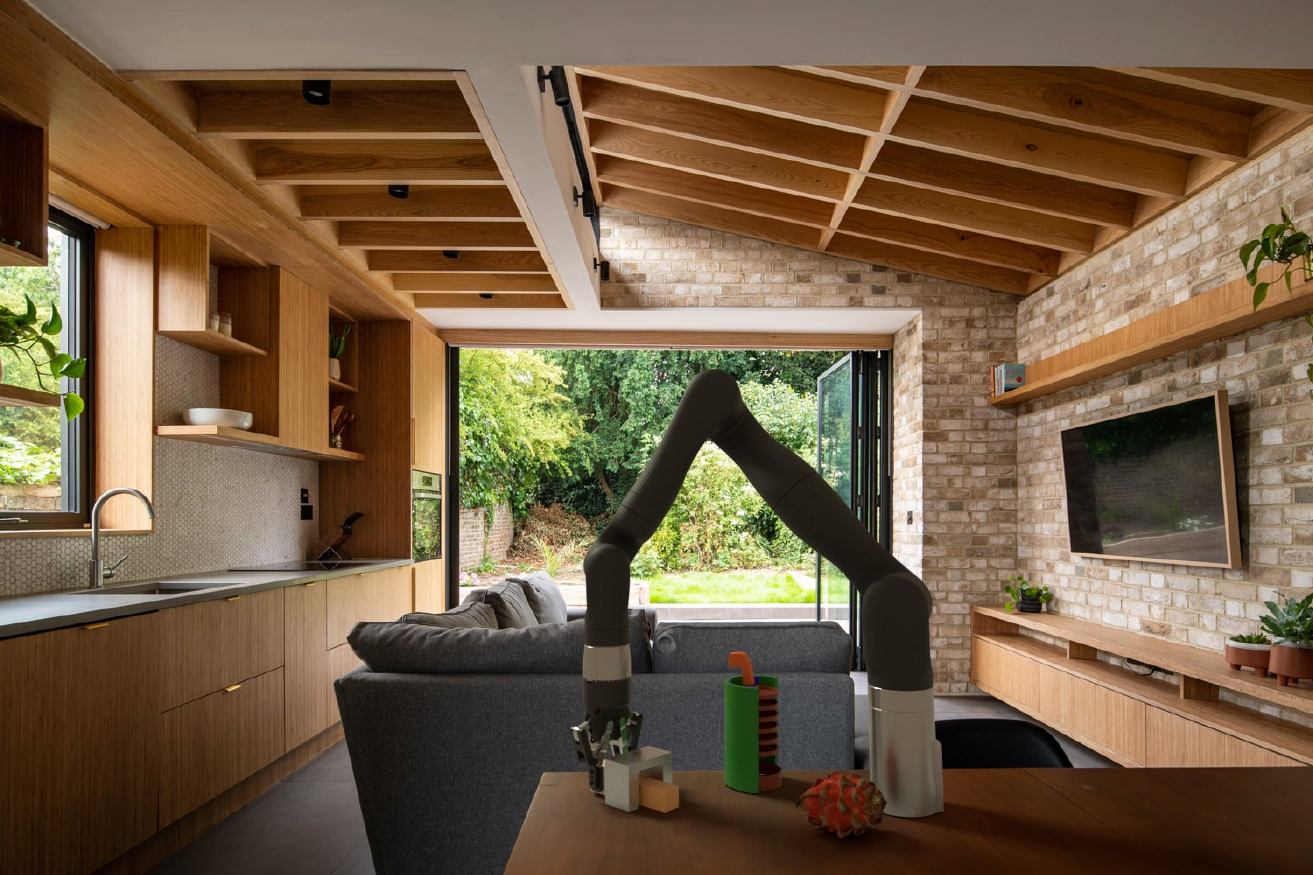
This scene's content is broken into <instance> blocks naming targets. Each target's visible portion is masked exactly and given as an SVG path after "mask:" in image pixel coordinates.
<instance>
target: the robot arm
mask: <svg viewBox="0 0 1313 875" xmlns="http://www.w3.org/2000/svg"><path fill="white" fill-rule="evenodd" d="M687 384H688V385H686V387H685V390H684V393H683V394H682V396H681V399H680V401H679V403H678V406H677V407H676V411H675V412H674V415H673V417H672V418H671V420H670V423H669V425H668V427H667V429H666V430H665V432H664V435H663V436H662V438H661V440H660V442H659V444H658V445H657V446H656V448H655V450H654V453H653V454H652V456H651V457H650V459H649V460H648V461H647V464H646V465H645V467H644V468H643V470H642V471H641V473H640V474H639V476H638V478H637V479H636V480H635V481H634V484H633V485H632V487H631V488H630V489H629V491H628V492H627V494H626V495H625V497H624V498H623V500H622V502H621V503H620V504H619V506H618V508H617V510H616V512H614V515H613V517H612V519H611V520H610V522H609V523H608V524H607V525H606V526H605V528H604V529H603V530H602V532H601V533H600V534H599V535H598V536H597V538H596V540H595V541H594V542H593V544H592V545H591V546H590V548H589V549H588V551H587V552H586V554H585V556H584V558H583V564H582V568H583V569H582V570H583V574H584V576H585V596H586V600H585V601H586V610H585V614H584V620H583V621H584V624H583V626H584V628H583V629H584V632H583V633H584V634H583V635H584V637H583V638H584V640H583V642H584V645H583V656H582V703H583V705H584V707H585V711H586V712H585V715H584V718H583V722H582V723H581V724H579V725H577V726H574V725H572V726H570V729H569V734H570V737H571V741H572V745H573V748H574V752H575V755H576V759H577V763H579V764H583V765H587V766H588V785H589V788H590V790H591V789H592V790H593V791H596V792H602V791H603V790H604V775H603V768H604V767H603V766H602V765H603V760H605V753H606V752H607V751H608V749H609V744H610V748H611V753H612V757H613V756H617V755H620V754H623V753H626V752H630V751H633V750H636V749H638V745H639V744H638V743H639V740H640V735H641V730H642V724H643V721H644V720H643V719H644V714H643V713H641V712H637V711H636V712H635V711H633V710H631V709H630V707H629V706H630V705H631V703H632V698H633V697H632V694H633V693H632V655H631V648H630V647H631V646H630V616H629V604H630V592H631V590H630V589H631V573H632V572H631V564H632V562H633V561H634V559H635V558H636V556H637V555H638V553H639V552H640V550H641V548H642V546H643V545H644V544H645V543H647V542H648V541H649V540H650V539H651V538H652V537H653V535H655V533H656V532H657V530H658V529H659V527H660V525H661V523H662V522H663V521H664V519H665V517H666V516H667V515H668V513H669V512H670V510H671V508H672V506H673V505H674V504H675V502H676V499H677V497H678V496H679V493H680V491H681V489H682V487H683V485H684V482H685V479H686V478H687V475H688V473H689V471H690V468H691V466H692V464H693V462H694V460H695V459H696V457H697V456H698V453H699V452H700V450H701V448H702V447H703V446H704V444H705V443H706V442H707V440H710V441H711V442H712V443H714V444H715V446H717V447H718V448H719V449H720V450H721V451H722V452H723V453H724V454H726V456H727V457H729V458H730V459H731V461H733V462H734V463H735V465H736V466H737V467H738V468H739V469H740V470H741V472H742V473H743V475H744V477H746V479H747V480H748V481H749V483H750V484H751V486H752V487H753V488H754V490H755V491H756V492H757V493H758V495H759V496H760V497H761V498H762V500H763V501H764V502H765V503H766V505H767V506H768V507H769V508H770V509H771V511H772V512H773V513H774V514H775V515H776V517H778V518H779V520H780V521H782V523H783V524H784V525H785V527H786V528H788V530H789V531H791V532H792V533H793V534H794V535H795V536H796V538H798V539H799V540H801V541H802V542H803V543H804V544H805V545H807V546H808V547H809V548H811V549H812V550H813V551H815V552H816V553H817V554H819V555H820V556H821V557H823V558H824V559H826V560H827V561H828V562H829V563H830V564H832V565H833V566H834V567H835V568H837V569H838V570H839V571H840V572H841V573H842V574H843V575H844V576H845V577H846V579H847V580H848V581H849V582H850V583H851V584H852V585H853V587H854V589H856V591H857V592H858V593H859V594H860V596H861V597H862V598H863V599H862V607H861V608H862V609H861V610H862V611H861V615H862V616H861V617H862V618H861V620H862V638H863V639H862V641H863V642H862V644H863V658H864V664H865V669H866V674H867V704H868V706H867V708H868V711H867V712H868V738H869V739H868V742H869V743H868V744H869V777H870V780H869V781H872V782H873V783H874V784H875V786H876V789H878V790H880V791H881V793H882V794H883V796H884V799H885V800H886V802H887V803H886V806H885V808H884V811H883V814H886V815H891V816H895V817H902V818H922V817H928V816H932V815H934V814H936V813H942V812H944V786H943V785H944V784H943V758H942V743H941V742H940V741H939V740H937V738H936V724H935V719H936V718H935V696H934V685H935V684H934V668H933V665H932V658H931V657H932V656H931V642H930V641H931V640H930V639H931V638H930V637H931V636H930V618H931V616H932V614H933V609H934V608H933V605H934V604H933V598H932V597H933V596H932V594H931V591H930V590H929V588H928V586H927V584H926V583H925V581H923V580H922V579H921V578H920V577H918V576H917V575H916V574H915V573H914V572H912V571H911V570H910V569H909V568H908V567H907V566H905V565H904V564H903V563H902V562H901V561H900V560H898V559H897V558H896V557H895V556H893V555H892V554H891V553H890V552H889V551H888V550H887V549H886V548H885V547H884V546H883V545H882V544H881V543H880V542H878V541H877V539H876V538H875V537H874V536H873V535H872V534H871V533H870V531H868V529H867V528H866V526H865V525H864V524H863V522H862V521H861V520H860V519H859V518H858V516H857V515H856V514H855V512H854V511H853V510H852V509H851V507H850V506H849V505H848V504H847V503H846V502H845V501H844V500H843V499H842V498H841V496H840V494H838V493H837V491H836V490H835V489H834V488H833V487H832V486H831V485H830V484H829V483H828V482H827V481H826V480H825V478H824V477H822V475H821V474H820V473H818V472H817V470H816V469H815V468H814V467H813V466H812V465H810V463H809V462H807V461H806V460H805V459H803V458H802V457H801V456H799V455H798V454H797V453H795V452H794V451H792V450H791V449H789V447H787V446H785V445H783V444H782V443H780V442H779V441H778V440H777V439H775V438H774V437H773V436H772V435H771V434H770V433H769V432H768V431H767V430H766V429H765V428H764V427H763V425H762V424H761V423H760V422H759V421H758V420H757V418H756V417H755V415H754V414H753V413H752V412H751V410H750V409H749V408H748V406H747V405H746V404H745V402H744V400H743V397H742V392H741V389H740V386H739V384H738V382H737V380H736V379H735V378H734V377H733V376H732V374H730V373H729V372H727V371H725V370H723V369H718V368H709V369H705V370H702V371H700V372H699V373H697V374H695V375H694V376H693V377H692V379H690V380H689V382H688V383H687ZM597 742H599V743H597ZM593 791H592V792H593ZM596 792H595V793H596Z"/></svg>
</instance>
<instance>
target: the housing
mask: <svg viewBox="0 0 1313 875" xmlns="http://www.w3.org/2000/svg"><path fill="white" fill-rule="evenodd" d="M604 760H605V795H604V804H605V805H608V806H611V807H613V808H615V809H618V810H622V811H625V812H626V813H627V812H628V813H630V812H633V811H636V810H639V809H640V805H639V775H642V776H646V777H649V778H653V779H656V780H660V781H663V782H667V783H670V784H673V751H670V750H665V749H662V748H659V747H654V746H650V745H647V746H643V747H640V748H637V749H636V750H633V751H630V752H626V753H623V754H620V755H617V756H613V755H612V756H611V757H608V758H604Z"/></svg>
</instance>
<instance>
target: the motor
mask: <svg viewBox="0 0 1313 875" xmlns="http://www.w3.org/2000/svg"><path fill="white" fill-rule="evenodd" d="M728 668H740V669H741V672H742V675H735V676H730V677H727V678H725V679H724V682H723V684H724V689H723V690H724V692H723V693H724V696H723V697H724V703H723V704H724V707H723V709H724V721H723V723H724V724H723V725H724V726H723V727H724V734H723V735H724V739H723V740H724V742H723V744H724V748H723V750H724V751H723V752H724V754H723V755H724V758H723V760H724V767H723V768H724V770H723V771H724V773H723V774H724V775H723V776H724V779H723V780H724V781H725V783H726V784H727V785H728V786H729V787H732V788H735V789H737V790H740V791H744V792H749V793H748V794H751V793H759V792H769V791H768V790H770V791H774V790H773V789H775V790H777V789H776V788H778V789H779V788H781V787H782V784H783V783H782V781H783V780H782V778H783V777H782V776H783V774H782V770H783V769H782V767H781V766H780V765H779V758H778V757H779V752H780V745H779V742H780V734H779V731H780V723H779V722H778V720H779V719H780V712H779V711H778V710H779V708H780V701H779V700H778V697H779V696H780V690H779V689H778V685H779V684H778V676H772V675H771V676H770V675H762V674H761V675H759V674H754V669H753V664H752V661H751V658H750V656H749V655H748V654H747V653H746V652H745V651H731V653H728ZM759 774H764V775H759ZM725 783H724V784H725ZM729 787H728V788H729ZM740 791H739V792H740ZM744 792H743V793H744ZM759 794H760V793H759Z"/></svg>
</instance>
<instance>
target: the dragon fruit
mask: <svg viewBox="0 0 1313 875" xmlns="http://www.w3.org/2000/svg"><path fill="white" fill-rule="evenodd" d="M847 773H849V776H848V774H847ZM847 773H844V774H841V773H840V772H838V771H828V772H827V773H826V776H825V777H817V778H816V779H815V782H814V783H813V785H812V787H809V789H807V790H806V792H805V793H803V794H802V795H800V797H799V798H798V799H797V801H796V802H795V803H794V804H795V806H794V807H795V809H796V810H797V809H798V808H799V806H800V809H802V810H803V811H805V812H808V813H809V814H806V815H805V816H804V820H805V822H806V824H807V823H808V824H809V825H811V826H812V827H813V828H818V829H823V830H825V831H826V832H829V833H830V832H831V833H832V832H836V833H837V834H836V835H837V837H838V838H839V839H843V838H844V837H846V836H849V835H850V834H851V833H852V834H853V835H855V836H861V835H862V834H864V832H865V831H866V830H865V828H866V827H870V828H871V827H872V828H876V827H877V826H878V825H880V824H881V822H882V821H883V819H884V817H883V816H884V813H883V811H884V808H885V806H886V803H887V802H886V800H885V799H884V796H883V794H882V793H881V791H880V790H878V789H876V786H875V784H874V783H873V782H872V781H870V780H867V779H865V778H862V777H861V775H859V774H858V773H857V772H855V771H853V770H847Z"/></svg>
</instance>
